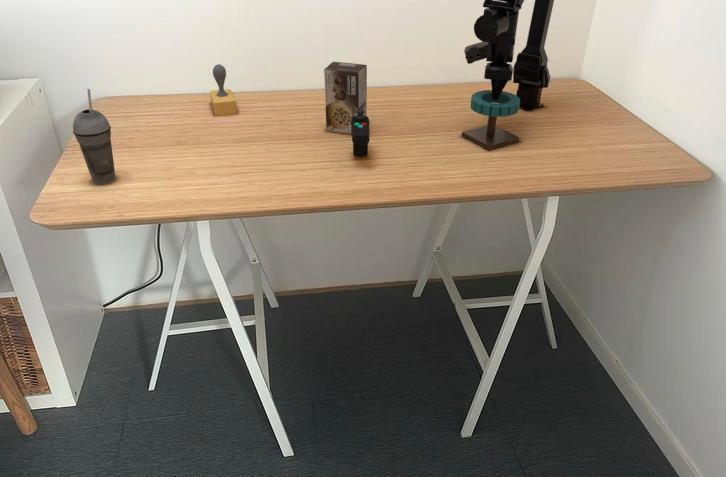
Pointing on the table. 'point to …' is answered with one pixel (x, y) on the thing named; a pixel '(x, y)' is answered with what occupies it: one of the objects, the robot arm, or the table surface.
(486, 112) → the hoop
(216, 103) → the rubber stamp
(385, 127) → the table surface
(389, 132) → the table surface
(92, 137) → the beverage cup
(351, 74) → the coffee box
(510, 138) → the stand
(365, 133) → the controller
